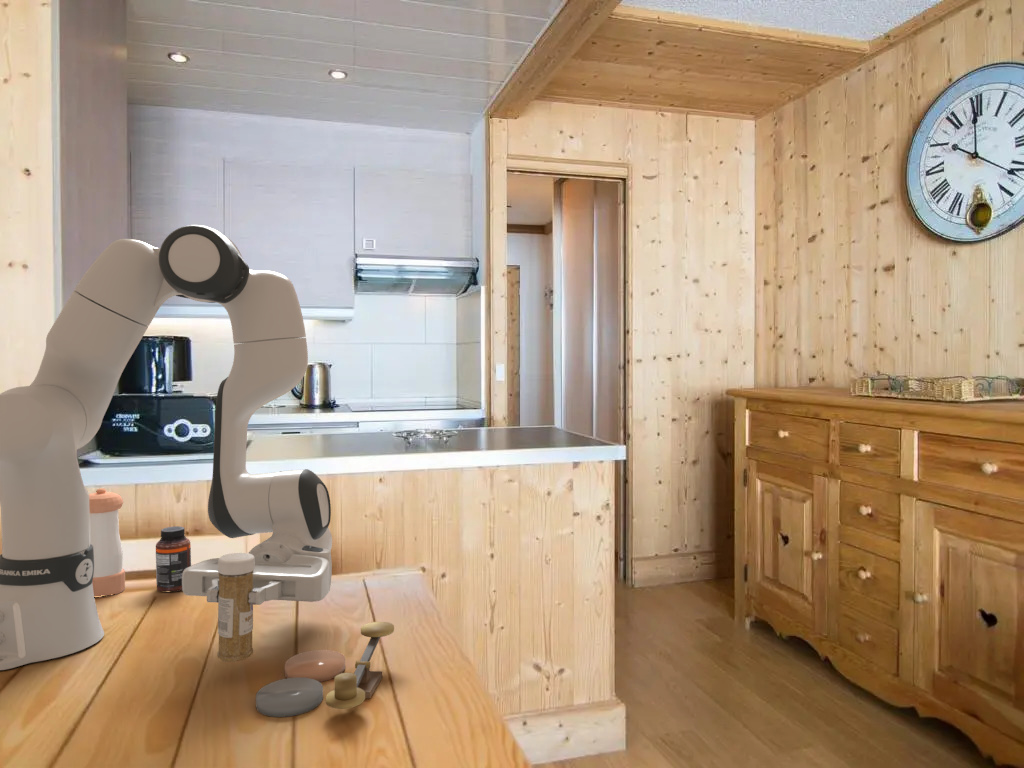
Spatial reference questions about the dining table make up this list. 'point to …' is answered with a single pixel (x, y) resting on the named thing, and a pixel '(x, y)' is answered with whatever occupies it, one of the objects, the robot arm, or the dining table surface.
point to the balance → (359, 672)
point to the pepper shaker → (106, 543)
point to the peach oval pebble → (315, 665)
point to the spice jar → (235, 606)
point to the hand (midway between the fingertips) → (232, 597)
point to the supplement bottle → (172, 558)
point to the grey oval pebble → (289, 697)
